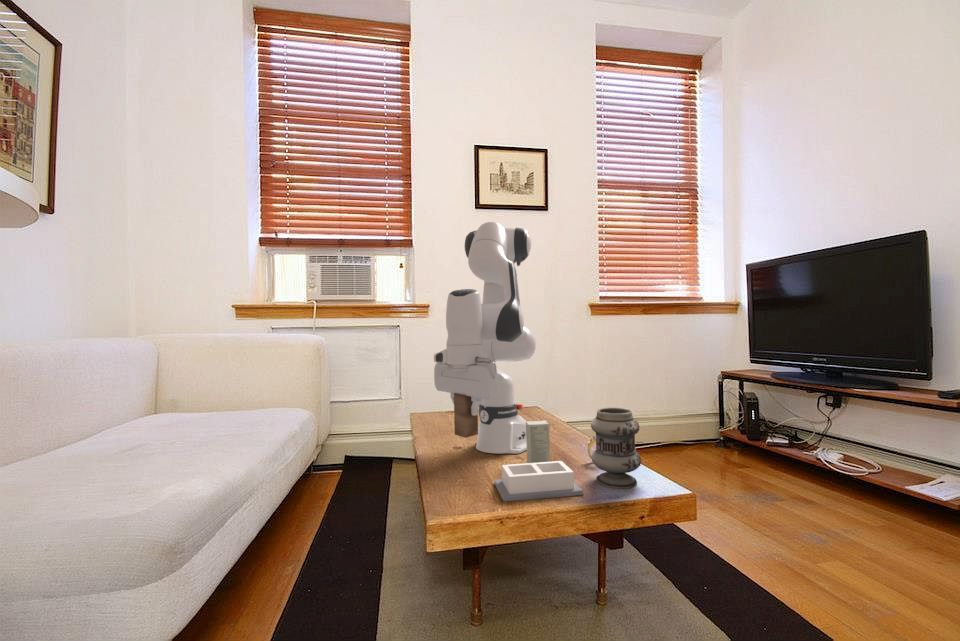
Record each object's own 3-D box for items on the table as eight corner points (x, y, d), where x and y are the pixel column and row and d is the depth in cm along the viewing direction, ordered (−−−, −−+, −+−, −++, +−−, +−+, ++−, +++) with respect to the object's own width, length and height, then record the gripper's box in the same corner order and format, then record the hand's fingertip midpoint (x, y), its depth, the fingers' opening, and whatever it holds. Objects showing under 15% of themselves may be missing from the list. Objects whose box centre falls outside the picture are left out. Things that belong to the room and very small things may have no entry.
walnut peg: (467, 431, 106) (466, 391, 106) (478, 434, 103) (477, 393, 103) (454, 434, 103) (453, 393, 103) (465, 437, 100) (464, 395, 100)
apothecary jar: (600, 469, 117) (599, 403, 117) (647, 478, 110) (645, 408, 110) (584, 484, 107) (583, 411, 107) (634, 494, 100) (632, 417, 100)
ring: (588, 464, 121) (588, 436, 121) (585, 460, 125) (584, 433, 125) (612, 463, 122) (612, 435, 122) (608, 459, 125) (608, 432, 125)
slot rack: (503, 501, 97) (503, 479, 97) (494, 483, 108) (494, 463, 108) (583, 494, 100) (582, 473, 100) (566, 478, 111) (565, 458, 111)
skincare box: (547, 462, 124) (546, 420, 124) (550, 467, 119) (549, 423, 119) (526, 462, 124) (525, 420, 124) (528, 467, 119) (527, 424, 119)
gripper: (505, 357, 98) (506, 417, 98) (448, 353, 113) (449, 405, 113) (485, 359, 93) (486, 422, 94) (429, 355, 108) (430, 409, 108)
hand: (466, 413), depth 103 cm, fingers closed on walnut peg, 4 cm apart
